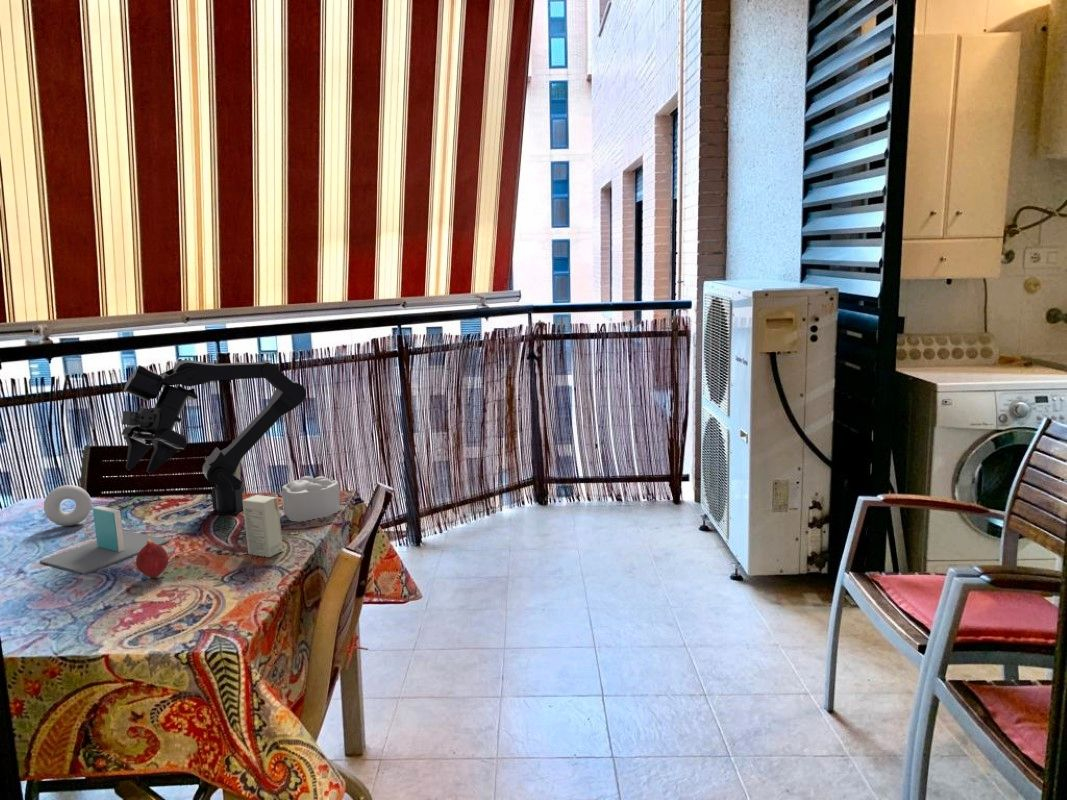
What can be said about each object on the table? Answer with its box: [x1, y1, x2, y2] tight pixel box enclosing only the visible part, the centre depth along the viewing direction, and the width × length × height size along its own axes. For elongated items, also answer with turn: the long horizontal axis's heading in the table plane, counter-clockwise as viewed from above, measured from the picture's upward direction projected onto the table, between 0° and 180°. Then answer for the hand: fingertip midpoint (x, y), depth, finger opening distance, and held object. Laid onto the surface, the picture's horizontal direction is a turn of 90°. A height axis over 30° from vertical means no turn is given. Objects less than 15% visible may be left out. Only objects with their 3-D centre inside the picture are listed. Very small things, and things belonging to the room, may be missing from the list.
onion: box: [135, 539, 170, 579], centre depth 157 cm, size 6×6×8 cm
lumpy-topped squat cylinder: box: [281, 475, 341, 522], centre depth 195 cm, size 10×13×9 cm
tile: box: [92, 505, 125, 552], centre depth 172 cm, size 2×7×9 cm, turn 63°
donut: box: [43, 484, 93, 527], centre depth 189 cm, size 10×4×10 cm, turn 117°
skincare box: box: [242, 494, 284, 558], centre depth 169 cm, size 6×4×12 cm
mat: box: [39, 530, 170, 575], centre depth 172 cm, size 20×15×1 cm
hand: (138, 471), depth 182 cm, fingers open, 9 cm apart
